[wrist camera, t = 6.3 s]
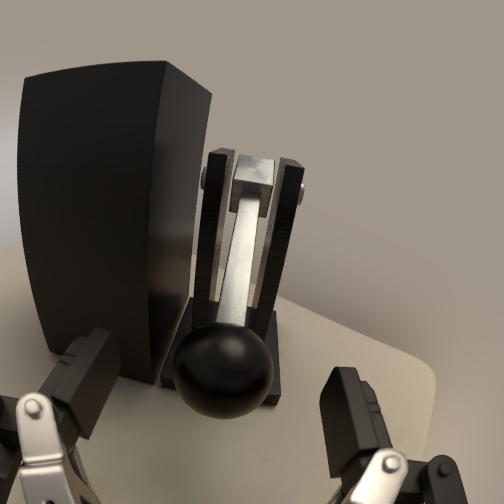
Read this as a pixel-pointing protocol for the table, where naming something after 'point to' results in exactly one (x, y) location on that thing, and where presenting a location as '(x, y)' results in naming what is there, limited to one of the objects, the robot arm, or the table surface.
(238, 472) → the table surface
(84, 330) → the toaster
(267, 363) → the toaster lever
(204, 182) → the lever bracket
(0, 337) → the table surface
